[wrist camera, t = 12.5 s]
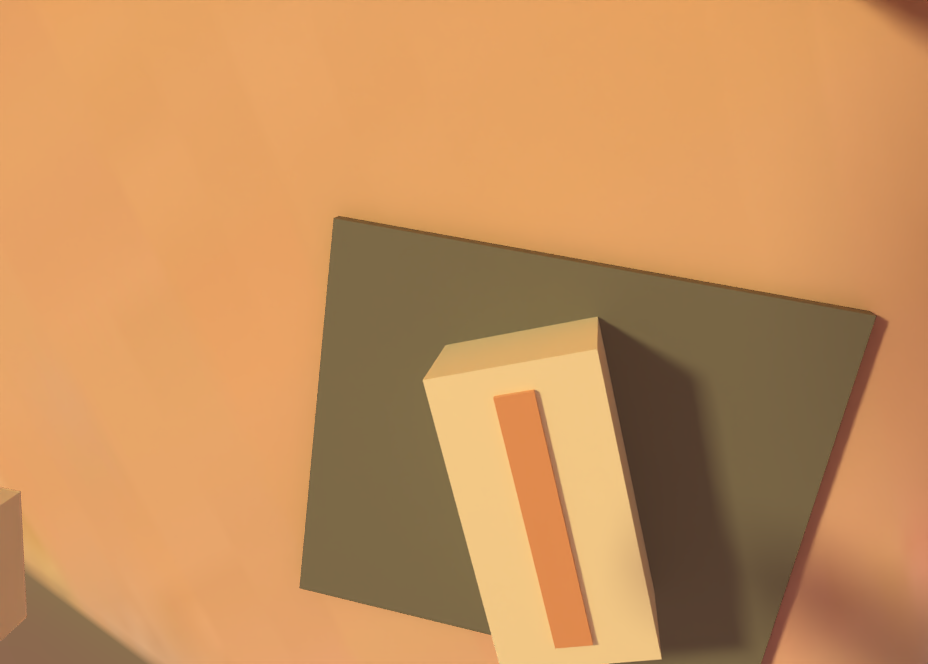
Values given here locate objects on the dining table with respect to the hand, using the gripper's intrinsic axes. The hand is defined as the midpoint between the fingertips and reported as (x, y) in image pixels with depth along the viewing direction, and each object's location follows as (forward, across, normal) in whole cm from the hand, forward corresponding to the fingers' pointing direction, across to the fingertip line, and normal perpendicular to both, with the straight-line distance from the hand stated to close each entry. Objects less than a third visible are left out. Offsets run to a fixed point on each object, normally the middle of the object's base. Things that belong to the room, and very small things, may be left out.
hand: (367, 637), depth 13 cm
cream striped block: (+17, +3, -5) cm, 18 cm away
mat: (+18, +3, -5) cm, 19 cm away
